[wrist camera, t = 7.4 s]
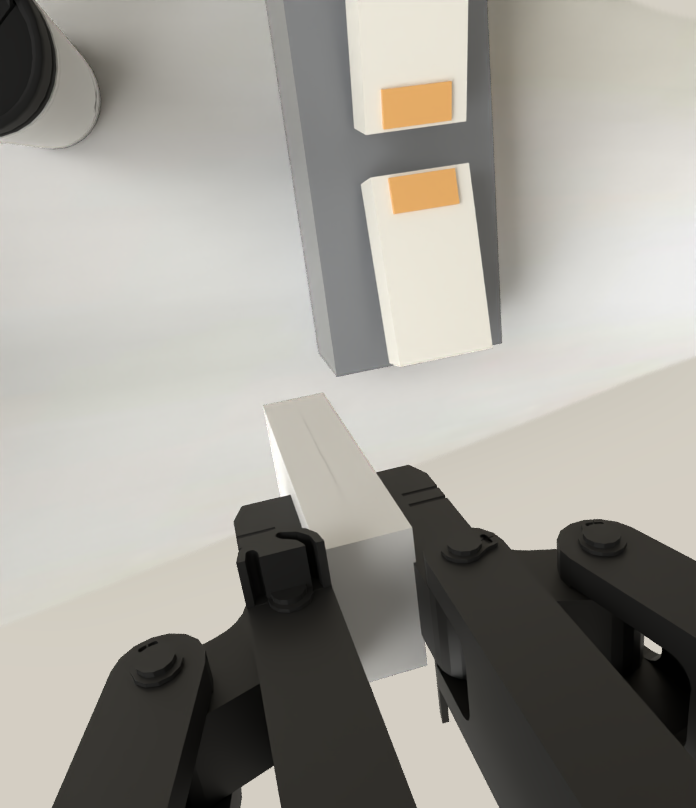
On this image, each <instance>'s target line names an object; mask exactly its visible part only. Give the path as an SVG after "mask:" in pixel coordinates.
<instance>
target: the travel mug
mask: <svg viewBox="0 0 696 808" xmlns="http://www.w3.org/2000/svg"><path fill="white" fill-rule="evenodd" d="M100 105H101V100H100V90H99V86H98V82H97V80H96V77H95V75H94V73H93V71H92V69H91V68H90V66H89V64H88V63H87V61H86V60H85V59H84V58H83V57H82V55H81V54H80V53H79V52H78V51H77V50H76V48H75V47H74V46H73V45H72V44H71V42H70V41H69V40H68V39H67V38H66V37H65V35H64V34H63V33H62V32H61V31H60V29H59V28H58V27H57V26H56V25H55V24H54V22H53V21H52V20H51V19H50V18H49V16H48V15H47V14H46V13H45V12H44V11H43V9H42V8H41V7H40V6H39V5H38V3H37V2H36V1H35V0H0V143H6V144H14V145H22V146H30V147H38V148H48V149H59V148H66V147H69V146H72V145H75V144H76V143H78V142H80V141H81V140H83V139H84V138H85V137H86V136H87V135H88V134H89V133H90V132H91V130H92V129H93V127H94V126H95V124H96V122H97V119H98V116H99V112H100Z"/></svg>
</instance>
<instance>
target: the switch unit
mask: <svg viewBox="0 0 696 808" xmlns="http://www.w3.org/2000/svg"><path fill="white" fill-rule="evenodd" d="M266 7H267V14H268V20H269V27H270V34H271V40H272V47H273V53H274V60H275V67H276V73H277V80H278V87H279V93H280V100H281V106H282V113H283V120H284V126H285V133H286V140H287V146H288V153H289V160H290V166H291V173H292V179H293V186H294V193H295V199H296V206H297V213H298V219H299V226H300V232H301V239H302V246H303V252H304V259H305V266H306V272H307V279H308V285H309V292H310V299H311V305H312V312H313V319H314V325H315V332H316V339H317V345H318V352H319V354H320V356H321V357H322V358H323V360H324V361H325V362H326V364H327V365H328V366H329V367H330V369H331V370H332V371H333V373H334V374H335V375H336V377H339V376H344V375H349V374H353V373H358V372H363V371H368V370H373V369H378V368H383V367H388V366H393V364H390V363H389V358H388V352H387V345H386V339H385V333H384V327H383V320H382V314H381V308H380V302H379V295H378V289H377V283H376V277H375V270H374V264H373V258H372V252H371V245H370V239H369V233H368V227H367V221H366V214H365V208H364V202H363V196H362V189H361V184H362V183H363V182H365V181H366V180H368V179H369V178H370V177H377V176H384V175H390V174H397V173H404V172H410V171H417V170H424V169H431V168H437V167H444V166H451V165H457V164H464V163H469V167H470V175H471V183H472V191H473V198H474V206H475V214H476V222H477V230H478V237H479V245H480V253H481V261H482V268H483V276H484V284H485V292H486V299H487V307H488V315H489V323H490V331H491V338H492V345H496V344H501V343H502V333H501V309H500V286H499V263H498V240H497V217H496V194H495V171H494V147H493V124H492V101H491V78H490V55H489V32H488V8H487V0H468V45H467V109H466V121H465V122H457V123H450V124H443V125H436V126H428V127H421V128H414V129H406V130H399V131H392V132H384V133H377V134H370V135H365V134H363V133H361V132H360V131H358V130H356V129H354V119H353V105H352V91H351V76H350V62H349V47H348V33H347V19H346V4H345V0H266Z"/></svg>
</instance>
